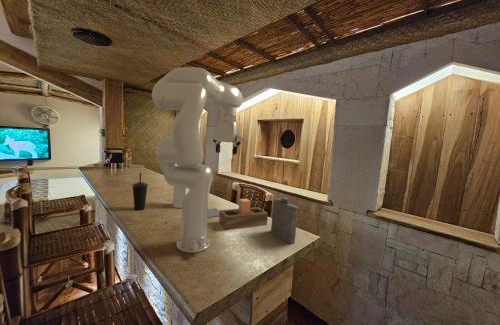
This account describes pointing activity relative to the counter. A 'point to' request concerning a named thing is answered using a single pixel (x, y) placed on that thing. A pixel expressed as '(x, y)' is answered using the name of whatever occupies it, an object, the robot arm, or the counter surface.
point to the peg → (244, 206)
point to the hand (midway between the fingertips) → (226, 153)
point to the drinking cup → (139, 195)
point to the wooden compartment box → (242, 218)
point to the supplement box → (179, 196)
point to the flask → (284, 219)
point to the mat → (213, 213)
